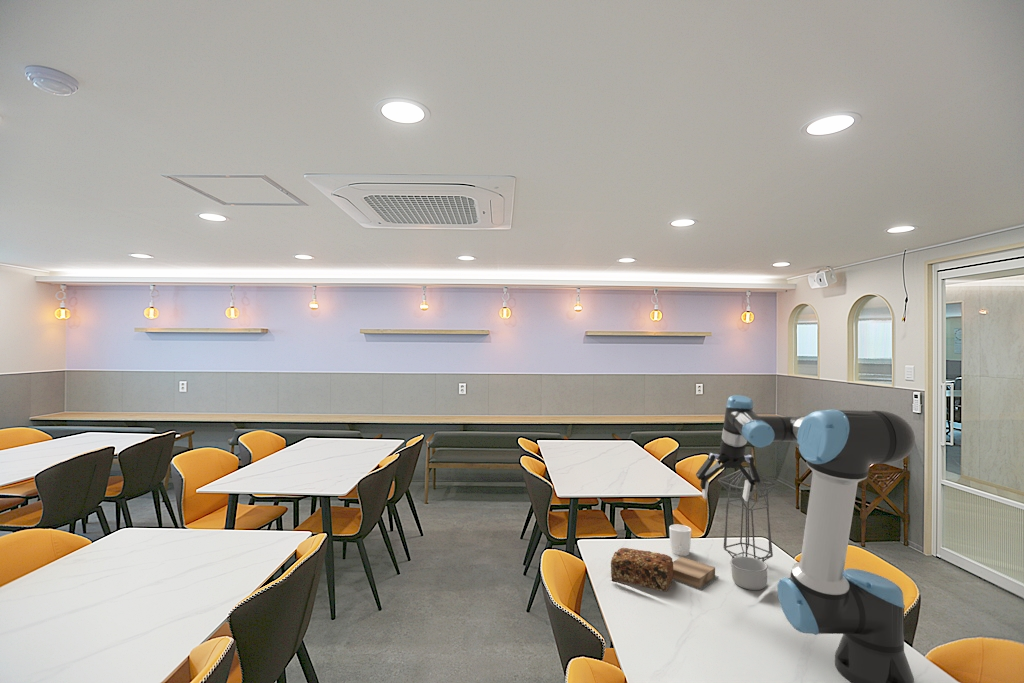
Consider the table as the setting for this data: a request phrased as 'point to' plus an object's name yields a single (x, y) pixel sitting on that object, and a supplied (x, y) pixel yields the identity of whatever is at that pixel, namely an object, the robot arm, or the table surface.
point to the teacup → (749, 572)
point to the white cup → (680, 539)
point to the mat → (700, 587)
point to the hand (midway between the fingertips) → (724, 498)
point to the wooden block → (692, 572)
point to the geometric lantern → (747, 510)
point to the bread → (642, 568)
